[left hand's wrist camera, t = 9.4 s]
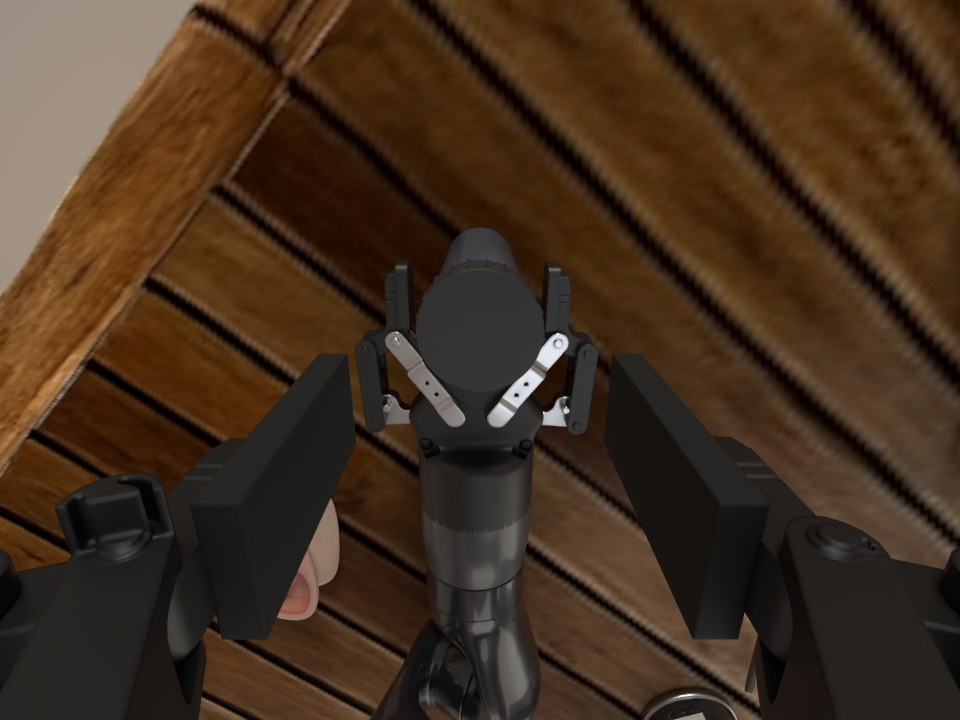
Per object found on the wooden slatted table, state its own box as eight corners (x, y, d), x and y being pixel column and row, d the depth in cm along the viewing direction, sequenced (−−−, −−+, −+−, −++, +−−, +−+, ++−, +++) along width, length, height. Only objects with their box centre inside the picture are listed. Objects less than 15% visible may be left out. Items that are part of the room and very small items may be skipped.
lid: (429, 379, 23) (424, 399, 21) (411, 264, 21) (403, 274, 19) (543, 368, 23) (549, 387, 21) (535, 251, 21) (541, 259, 19)
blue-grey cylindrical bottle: (451, 296, 36) (431, 388, 21) (442, 231, 34) (414, 279, 19) (515, 290, 36) (541, 377, 21) (509, 223, 34) (533, 266, 19)
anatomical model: (178, 471, 36) (339, 500, 37) (207, 443, 40) (352, 469, 41) (177, 610, 41) (321, 632, 42) (203, 573, 44) (334, 594, 45)
